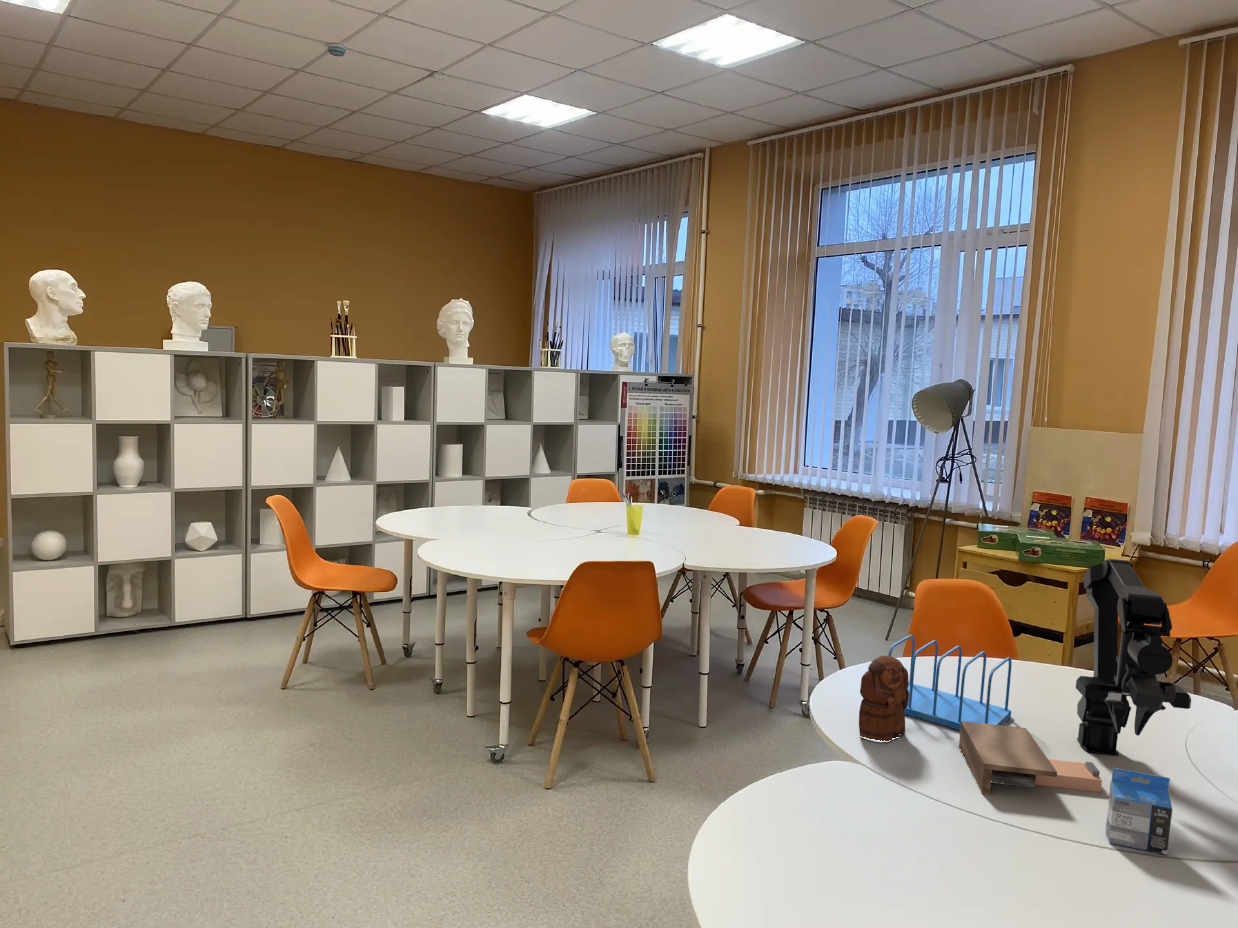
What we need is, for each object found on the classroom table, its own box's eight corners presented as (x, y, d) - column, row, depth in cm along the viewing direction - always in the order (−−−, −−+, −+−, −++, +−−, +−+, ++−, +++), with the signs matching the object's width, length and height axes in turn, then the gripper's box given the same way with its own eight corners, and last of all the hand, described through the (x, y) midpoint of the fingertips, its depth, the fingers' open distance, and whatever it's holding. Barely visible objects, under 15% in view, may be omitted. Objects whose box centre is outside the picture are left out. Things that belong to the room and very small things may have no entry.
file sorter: (1011, 717, 199) (1017, 654, 198) (988, 740, 186) (995, 673, 184) (907, 688, 215) (912, 630, 214) (879, 708, 202) (884, 646, 200)
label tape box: (1108, 843, 146) (1116, 776, 145) (1104, 831, 150) (1112, 766, 149) (1167, 856, 143) (1176, 787, 142) (1162, 843, 147) (1170, 777, 145)
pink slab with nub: (1087, 775, 171) (1089, 758, 171) (1100, 792, 165) (1102, 775, 164) (1024, 768, 173) (1026, 751, 173) (1035, 784, 167) (1036, 767, 166)
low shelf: (1023, 754, 180) (1025, 727, 179) (1053, 801, 160) (1057, 771, 159) (958, 747, 182) (961, 720, 181) (981, 793, 162) (984, 763, 162)
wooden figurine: (877, 747, 180) (884, 666, 178) (853, 735, 186) (859, 656, 183) (911, 735, 187) (918, 656, 185) (887, 724, 192) (894, 648, 190)
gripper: (1100, 666, 158) (1091, 745, 160) (1210, 676, 155) (1200, 757, 156) (1078, 647, 169) (1070, 721, 170) (1181, 656, 165) (1172, 732, 167)
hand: (1127, 733), depth 166 cm, fingers open, 3 cm apart
